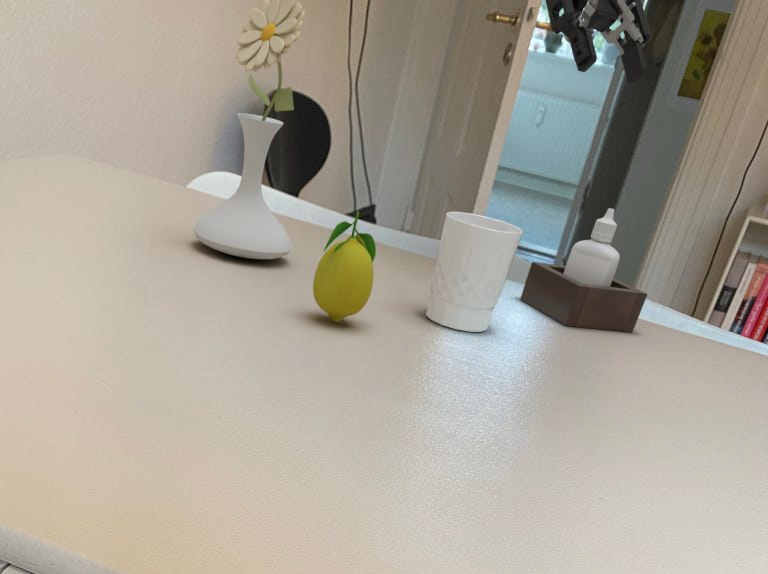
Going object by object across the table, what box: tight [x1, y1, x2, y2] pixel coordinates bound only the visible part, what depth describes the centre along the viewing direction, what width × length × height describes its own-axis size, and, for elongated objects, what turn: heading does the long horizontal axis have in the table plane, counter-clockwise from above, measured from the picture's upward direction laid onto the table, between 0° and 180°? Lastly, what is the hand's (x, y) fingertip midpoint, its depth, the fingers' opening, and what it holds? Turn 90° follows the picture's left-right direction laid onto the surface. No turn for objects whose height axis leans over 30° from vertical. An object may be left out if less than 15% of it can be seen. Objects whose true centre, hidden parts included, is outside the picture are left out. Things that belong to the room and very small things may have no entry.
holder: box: [519, 261, 648, 333], centre depth 109 cm, size 10×10×4 cm
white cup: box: [425, 211, 524, 333], centre depth 94 cm, size 8×8×10 cm
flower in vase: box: [192, 0, 306, 260], centre depth 96 cm, size 13×11×25 cm
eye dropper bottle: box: [563, 207, 621, 287], centre depth 107 cm, size 4×6×12 cm
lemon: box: [312, 210, 377, 323], centre depth 84 cm, size 7×6×10 cm
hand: (613, 73), depth 103 cm, fingers open, 8 cm apart
